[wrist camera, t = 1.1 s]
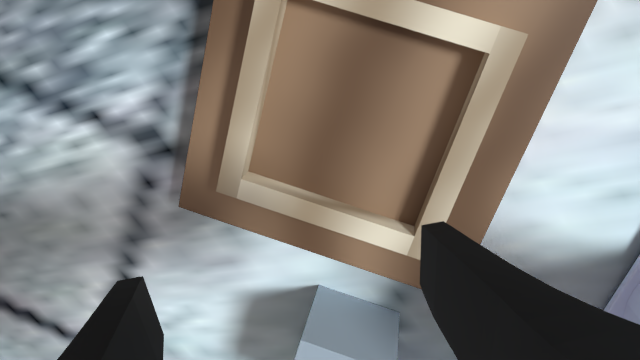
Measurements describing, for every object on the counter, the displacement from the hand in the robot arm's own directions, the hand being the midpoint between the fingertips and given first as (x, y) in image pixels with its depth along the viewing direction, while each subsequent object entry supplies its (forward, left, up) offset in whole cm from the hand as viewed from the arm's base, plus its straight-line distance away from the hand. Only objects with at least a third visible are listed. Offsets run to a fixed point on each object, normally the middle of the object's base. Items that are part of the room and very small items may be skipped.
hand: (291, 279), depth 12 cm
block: (-3, +10, -11) cm, 15 cm away
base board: (0, -2, -11) cm, 11 cm away
